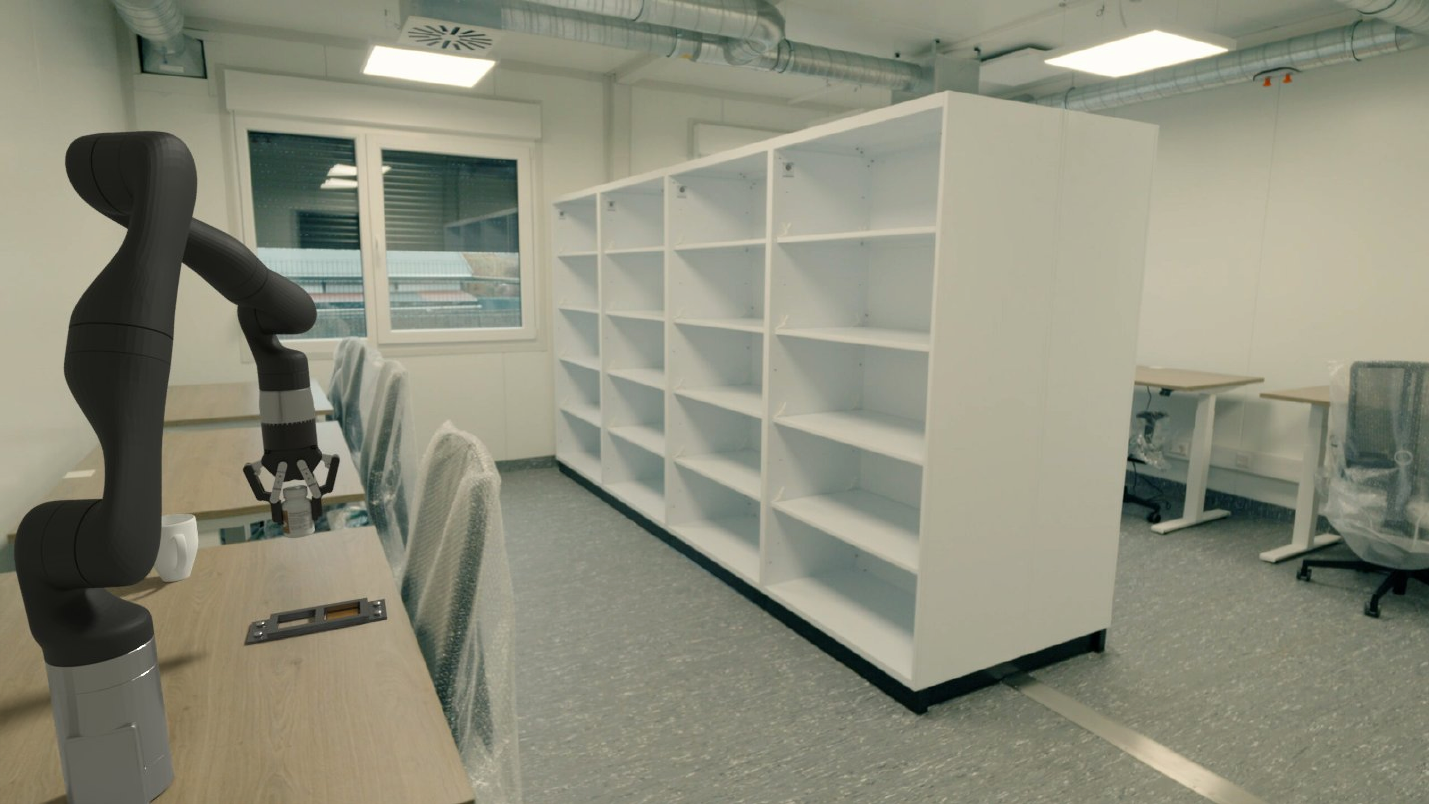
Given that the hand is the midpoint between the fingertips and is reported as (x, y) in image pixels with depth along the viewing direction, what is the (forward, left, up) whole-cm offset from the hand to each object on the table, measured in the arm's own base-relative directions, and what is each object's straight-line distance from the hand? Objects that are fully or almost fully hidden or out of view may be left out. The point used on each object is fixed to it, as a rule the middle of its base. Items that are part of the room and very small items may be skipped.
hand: (298, 521), depth 123 cm
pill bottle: (0, 0, -2) cm, 2 cm away
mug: (+32, +23, -18) cm, 43 cm away
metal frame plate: (0, -2, -17) cm, 17 cm away
